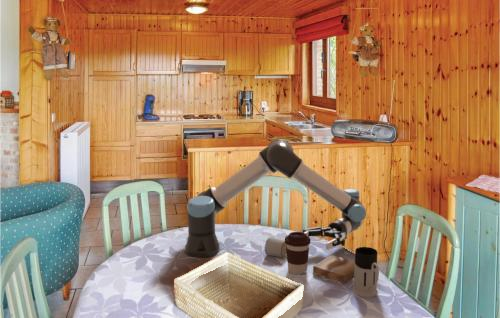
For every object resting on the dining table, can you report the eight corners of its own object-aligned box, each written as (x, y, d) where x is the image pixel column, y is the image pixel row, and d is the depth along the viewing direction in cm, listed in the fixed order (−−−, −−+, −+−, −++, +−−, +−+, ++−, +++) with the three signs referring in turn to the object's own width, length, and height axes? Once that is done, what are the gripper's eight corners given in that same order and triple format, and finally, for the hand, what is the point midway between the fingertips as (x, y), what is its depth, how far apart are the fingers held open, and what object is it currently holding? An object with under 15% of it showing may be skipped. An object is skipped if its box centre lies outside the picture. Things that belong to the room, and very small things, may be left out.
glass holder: (371, 284, 161) (373, 245, 158) (389, 303, 147) (391, 261, 144) (348, 286, 159) (349, 247, 157) (364, 305, 145) (365, 263, 143)
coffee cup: (292, 278, 166) (292, 240, 163) (280, 268, 175) (280, 232, 172) (314, 273, 170) (315, 236, 167) (301, 263, 179) (302, 228, 176)
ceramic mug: (282, 260, 182) (282, 242, 181) (264, 257, 186) (264, 239, 185) (291, 251, 192) (291, 235, 191) (273, 248, 195) (274, 232, 194)
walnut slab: (313, 273, 170) (313, 266, 170) (331, 261, 180) (332, 254, 180) (345, 283, 161) (345, 276, 160) (363, 271, 171) (363, 263, 171)
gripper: (364, 243, 187) (339, 259, 171) (315, 230, 203) (288, 243, 188) (365, 226, 186) (340, 240, 170) (315, 215, 202) (288, 227, 186)
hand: (312, 242), depth 179 cm, fingers open, 13 cm apart
